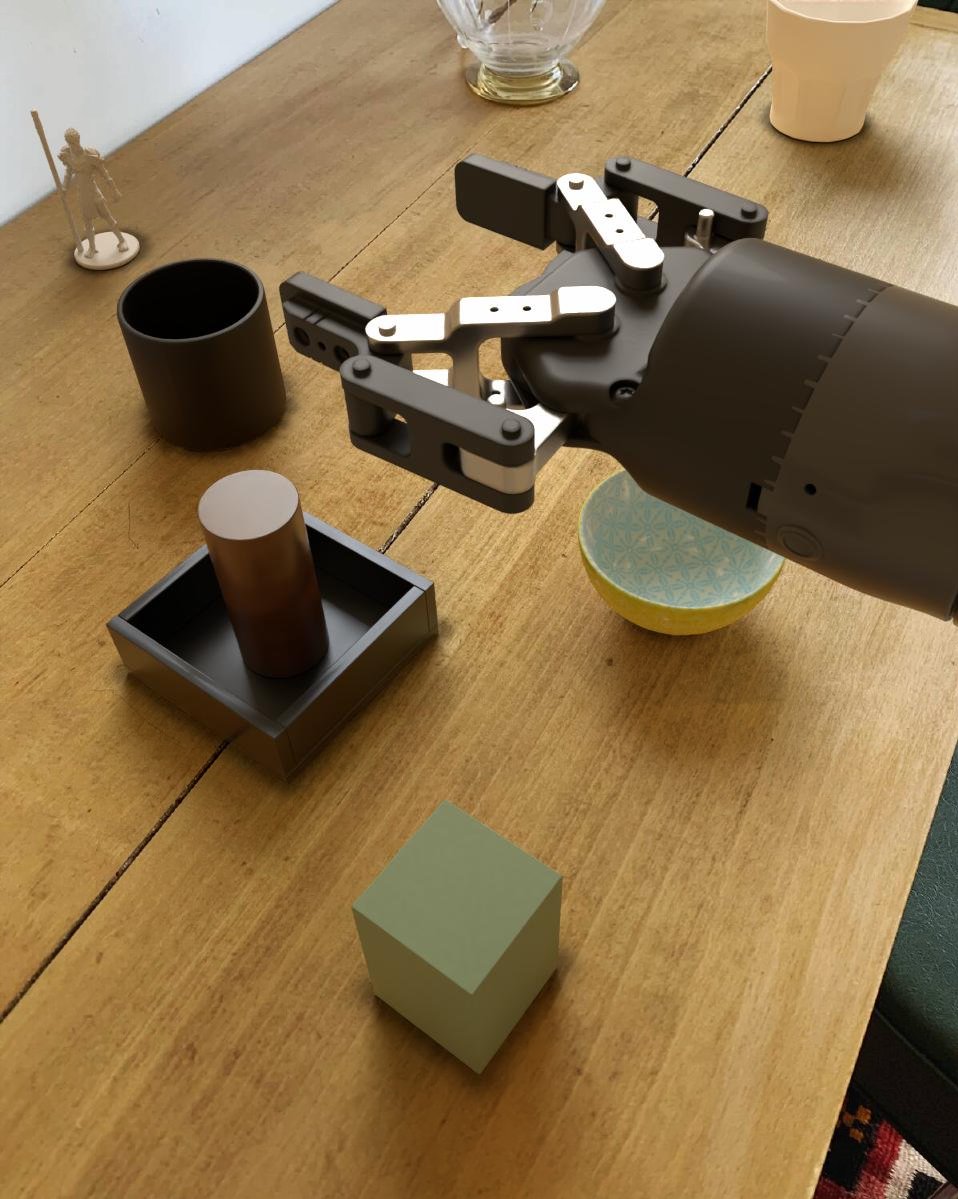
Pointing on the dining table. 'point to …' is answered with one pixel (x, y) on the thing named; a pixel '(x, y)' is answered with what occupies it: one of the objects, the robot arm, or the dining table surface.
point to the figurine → (89, 203)
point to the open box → (279, 705)
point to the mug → (203, 352)
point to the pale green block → (461, 933)
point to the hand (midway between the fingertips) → (380, 240)
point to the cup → (830, 62)
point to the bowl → (668, 561)
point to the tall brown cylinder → (265, 571)
